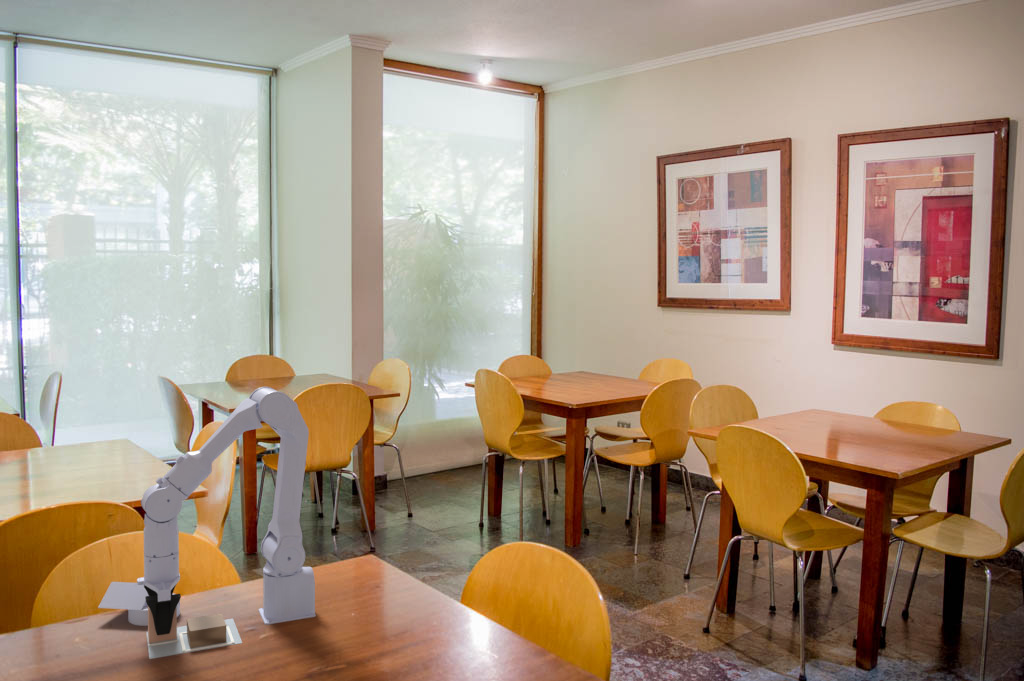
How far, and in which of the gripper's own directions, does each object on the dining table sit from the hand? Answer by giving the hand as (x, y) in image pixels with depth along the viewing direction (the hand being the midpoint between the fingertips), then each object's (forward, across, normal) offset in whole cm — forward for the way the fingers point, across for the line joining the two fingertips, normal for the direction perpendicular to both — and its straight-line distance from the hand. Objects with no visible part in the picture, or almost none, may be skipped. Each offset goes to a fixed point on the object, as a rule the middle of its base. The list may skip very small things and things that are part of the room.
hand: (162, 627), depth 145 cm
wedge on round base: (+2, -12, -2) cm, 12 cm away
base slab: (+2, +4, +7) cm, 8 cm away
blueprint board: (+2, +3, +5) cm, 6 cm away
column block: (+2, 0, 0) cm, 2 cm away
